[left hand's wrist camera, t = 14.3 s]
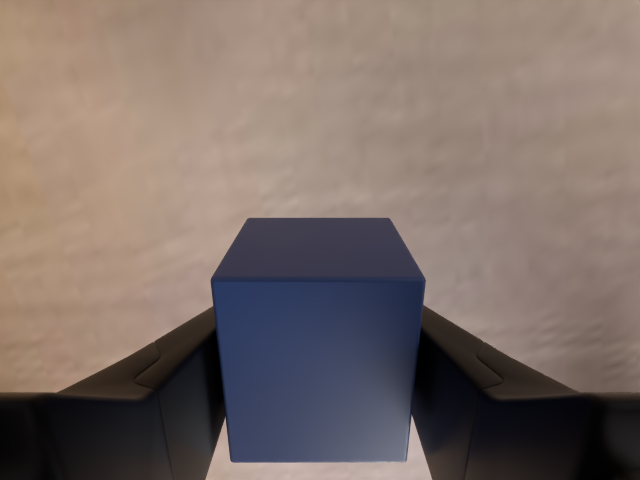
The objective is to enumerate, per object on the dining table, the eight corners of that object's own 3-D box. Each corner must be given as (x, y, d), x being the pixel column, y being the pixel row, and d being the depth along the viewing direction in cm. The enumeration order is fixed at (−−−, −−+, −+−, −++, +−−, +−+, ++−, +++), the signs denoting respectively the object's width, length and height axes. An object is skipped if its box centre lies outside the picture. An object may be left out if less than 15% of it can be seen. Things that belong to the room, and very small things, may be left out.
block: (381, 355, 13) (407, 464, 9) (256, 355, 13) (229, 464, 9) (390, 217, 11) (427, 278, 8) (246, 217, 11) (208, 278, 8)
